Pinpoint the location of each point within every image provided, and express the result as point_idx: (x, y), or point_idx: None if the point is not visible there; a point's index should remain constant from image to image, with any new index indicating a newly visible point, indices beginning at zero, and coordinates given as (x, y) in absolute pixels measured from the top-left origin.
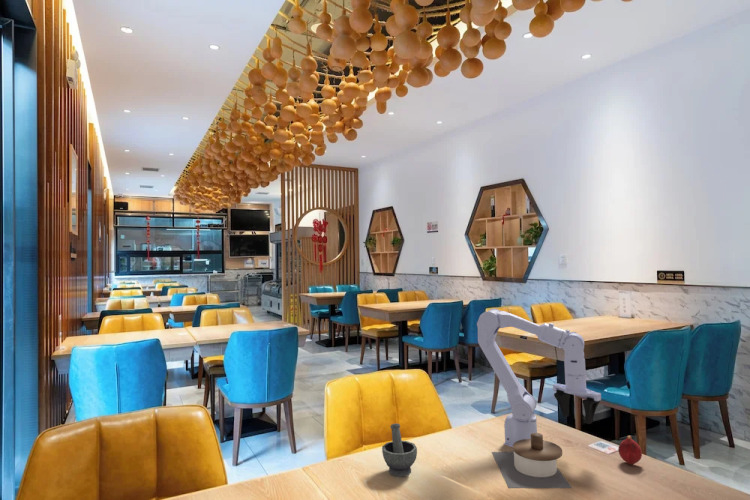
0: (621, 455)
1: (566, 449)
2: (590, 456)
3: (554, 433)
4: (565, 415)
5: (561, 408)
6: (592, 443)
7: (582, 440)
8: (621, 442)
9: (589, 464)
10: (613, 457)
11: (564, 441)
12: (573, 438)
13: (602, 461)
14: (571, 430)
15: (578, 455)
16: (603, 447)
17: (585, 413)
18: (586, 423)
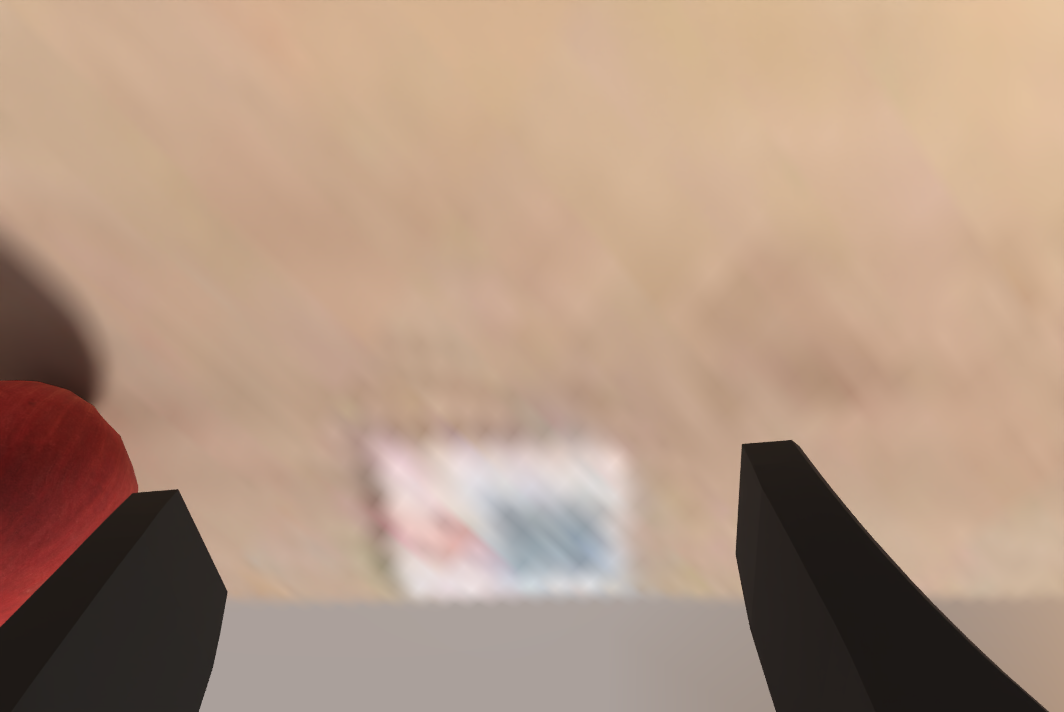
0: (13, 397)
1: (695, 182)
2: (396, 254)
3: (1058, 420)
4: (749, 489)
5: (875, 583)
6: (622, 507)
7: (731, 493)
8: (3, 542)
9: (214, 53)
10: (274, 414)
11: (851, 342)
12: (824, 467)
13: (233, 254)
14: (947, 583)
15: (486, 160)
16: (498, 511)
17: (20, 686)
18: (173, 491)
